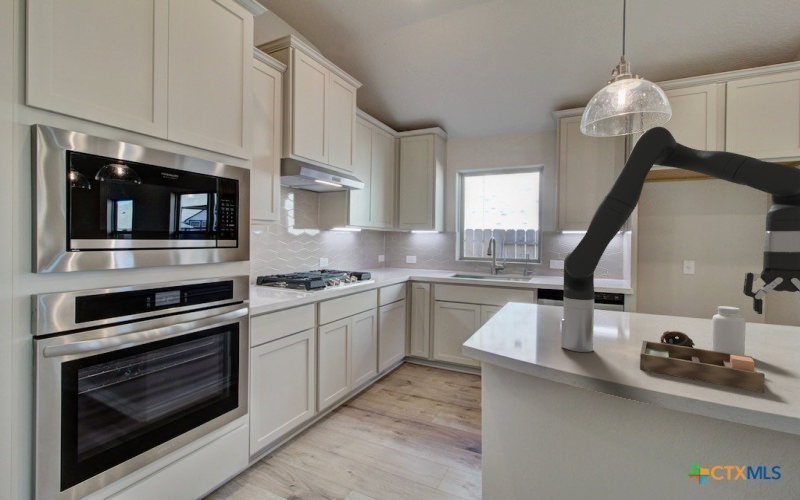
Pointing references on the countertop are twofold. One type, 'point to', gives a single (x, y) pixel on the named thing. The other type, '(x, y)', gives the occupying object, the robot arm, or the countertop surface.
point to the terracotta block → (741, 363)
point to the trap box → (698, 365)
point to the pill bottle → (728, 331)
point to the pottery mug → (677, 339)
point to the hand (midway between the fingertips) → (783, 315)
